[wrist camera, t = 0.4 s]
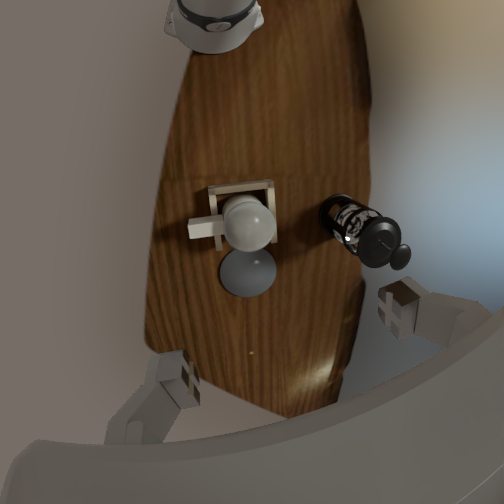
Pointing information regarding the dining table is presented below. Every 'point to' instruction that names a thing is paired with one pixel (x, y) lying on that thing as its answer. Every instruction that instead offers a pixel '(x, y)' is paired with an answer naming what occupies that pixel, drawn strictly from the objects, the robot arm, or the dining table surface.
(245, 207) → the white handled cylinder
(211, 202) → the stand
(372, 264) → the french press
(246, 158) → the dining table surface
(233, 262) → the mat
